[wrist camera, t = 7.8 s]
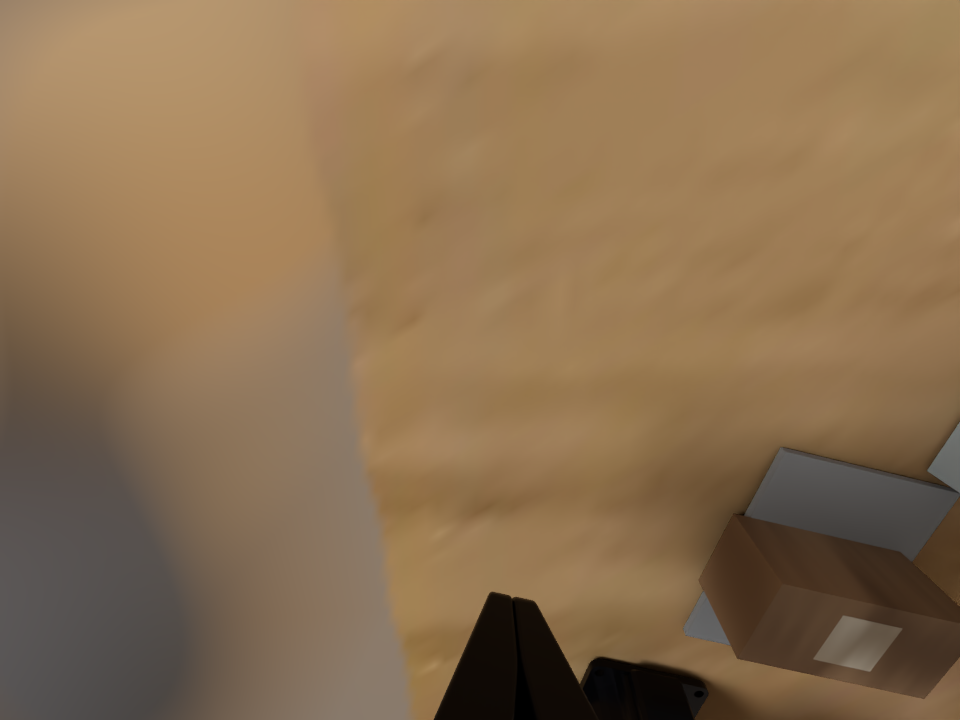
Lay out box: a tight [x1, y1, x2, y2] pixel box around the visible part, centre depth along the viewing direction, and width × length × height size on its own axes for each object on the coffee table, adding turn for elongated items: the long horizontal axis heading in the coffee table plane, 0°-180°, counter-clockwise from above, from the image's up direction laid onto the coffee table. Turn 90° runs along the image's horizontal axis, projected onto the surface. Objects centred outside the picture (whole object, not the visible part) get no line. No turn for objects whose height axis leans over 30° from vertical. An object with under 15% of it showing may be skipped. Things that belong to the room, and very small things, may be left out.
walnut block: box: [699, 514, 960, 699], centre depth 20 cm, size 4×4×8 cm
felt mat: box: [683, 447, 960, 645], centre depth 23 cm, size 11×8×1 cm
